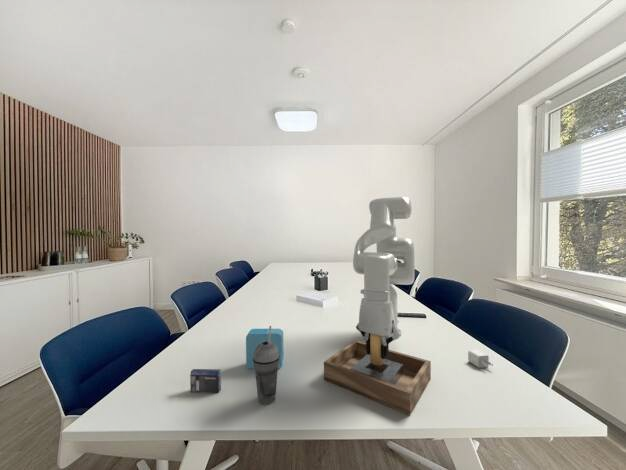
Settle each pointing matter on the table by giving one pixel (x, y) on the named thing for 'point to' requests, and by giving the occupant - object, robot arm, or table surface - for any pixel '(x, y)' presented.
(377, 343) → the peg
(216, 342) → the table surface
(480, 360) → the usb wall charger
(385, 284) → the robot arm
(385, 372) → the bore plate
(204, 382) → the mini dv tape
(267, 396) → the beverage cup
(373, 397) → the open box
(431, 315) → the table surface
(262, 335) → the data package
